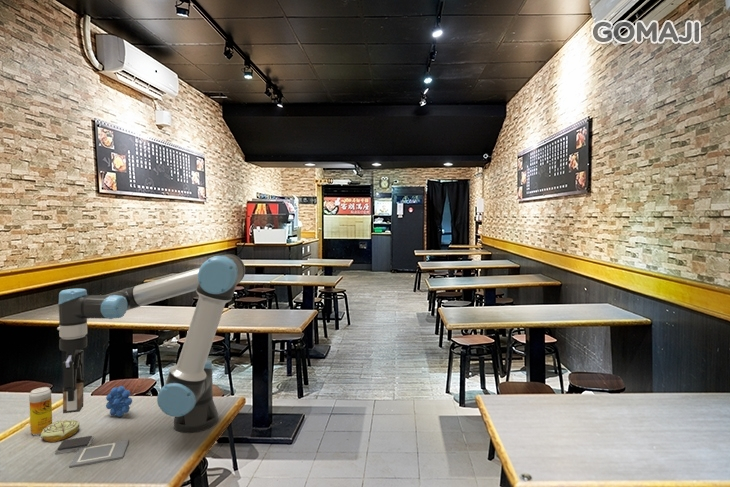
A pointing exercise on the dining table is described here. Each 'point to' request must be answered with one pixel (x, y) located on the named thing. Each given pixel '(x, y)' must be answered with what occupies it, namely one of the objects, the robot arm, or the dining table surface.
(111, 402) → the grapes
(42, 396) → the beer can
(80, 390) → the brown wooden block
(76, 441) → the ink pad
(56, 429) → the decorated donut
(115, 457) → the board
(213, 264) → the robot arm
